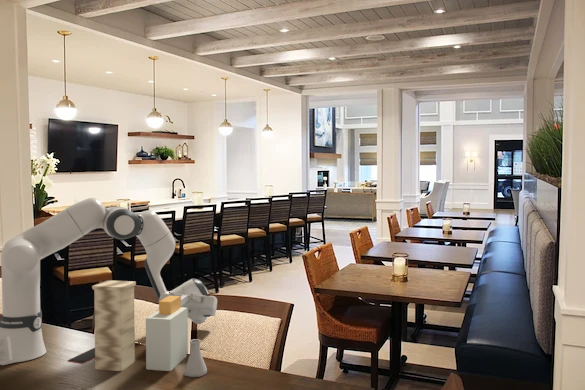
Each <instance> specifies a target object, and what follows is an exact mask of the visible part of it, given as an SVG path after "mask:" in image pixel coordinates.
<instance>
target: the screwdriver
mask: <svg viewBox="0 0 585 390" xmlns="http://www.w3.org/2000/svg"><path fill="white" fill-rule="evenodd" d="M186 302H188V295H182V296H168V297H166V298H164V299H163V300H161V301H158V304H159V305H158V310H159V314H169V315H171V314H173V313H174V312H176V311H177V310H179V309H180V308H181V306H182V305H183V304H185V303H186Z"/></svg>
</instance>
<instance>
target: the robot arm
mask: <svg viewBox="0 0 585 390" xmlns="http://www.w3.org/2000/svg"><path fill="white" fill-rule="evenodd" d="M96 229H102V230H103V231H104V232H105V233H106V234H107V235H108V236H109V237H112V238H114V239H116V240H127V239H130V238H132V237H133V238H134V237H137V239H138V240H139V241H140V243H141V245H142V246H143V248H144V249H145V253H146V254H145V255H146V257H145V259H144V268H145V271H146V274H147V276H148V278H149V281H150V283H151V286H152V288H153V290H154V294H155V296H156V298H157V301H158V302H159V301H161V300H163V299H164V298H166V297H168V296H182V295H188V302H186V303H185V304H183V305H182V306H181V307H184V308H188V320H190V321H192V323H194V324H196V325H198V324H201V323H203V322H205V320H206V319H207V317H210V316H215V317H216V312H217V307H218V298H217V297H216V296H214V295H210V296H206V295H207V294H210V292H209V290H208V287H206V285H205V284H204V283H203V281H201V280H200V279H197V278H194V277H193V278H191V279H188V280H187V281H185V282H183V283H182V284H181V285H179V286H177V287H175V288H174V289H172V290H170V291H169V290H167V288H166V286H165V283H164V281H163V278H162V276H161V270H162V268H163V267H164V266H165V265H166V263H167V262H168V261H169V260H170V259H171V257H172V256H173V255H174V252H175V249H176V240H175V238H174V235H173V233H172V231H171V230H170V229H169V226H167V224H166V223H165V221H164V219H162V218H161V217H160V216H159V214H157V213H156V212H155V211H154V210H151V209H149V210H143V211H141V212H139V213H135V212H134V211H132V210H130V209H128V208H127V207H123V206H116V205H115V206H105V204H103V202H101V201H100V200H99V199H97V198H95V197H88V198H85V199H83V200H80V201H78V202H76V203H74V204H72V205H70V206H68V207H66V208H65V209H63V210H61V211H60V212H58V213H56V214H55V215H52V216H51V217H49V218H48V219H45V220H43V222H41V223H39V224H36V225H34V226H33V227H31V228H28V229H27V230H25V231H23V232H21V233H19V234H17V235H15V236H14V237H12V238H10V239H9V240H8V241H6V242H5V243H4V245H3V247H2V248H1V249H2V250H1V258H0V265H1V266H0V267H1V269H0V270H1V297H2V300H1V301H2V304H1V305H2V309H1V310H2V314H0V366H5V365H9V364H15V363H21V362H26V361H30V360H34V359H37V358H38V359H39V358H40V357H42V356H43V355H45V354H46V353H47V349H46V346H45V345H46V344H45V341H44V338H43V332H42V331H43V330H42V323H43V319H42V318H43V314H42V313H43V311H42V309H41V288H40V287H41V260H43V259H45V258H46V257H48V256H50V255H52V254H54V253H56V252H58V251H60V250H63V249H65V248H66V247H68V246H70V245H71V244H72V243H74V242H76V241H78V240H79V239H81V238H82V237H84V236H85V235H88V233H90V232H91V231H94V230H96ZM169 292H170V293H169Z"/></svg>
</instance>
